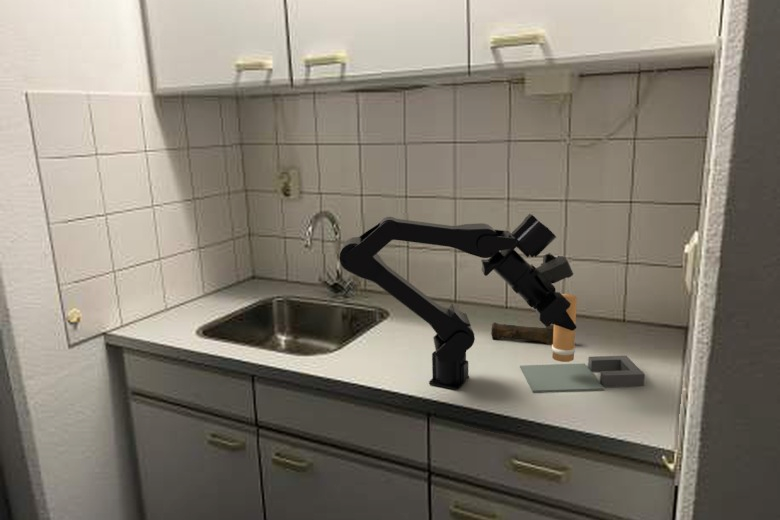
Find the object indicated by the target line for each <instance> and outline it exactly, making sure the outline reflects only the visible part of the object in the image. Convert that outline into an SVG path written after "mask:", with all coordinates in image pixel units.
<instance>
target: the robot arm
mask: <svg viewBox="0 0 780 520" xmlns="http://www.w3.org/2000/svg"><path fill="white" fill-rule="evenodd" d="M556 238H557V236H556V235H555V233H554V232H552V231H551V229H550V228H549V227H547V226H546V225H545V224H544V223H542V222H541V221H539V220H538V219H537V218H536V217H535V216H534V214H532V213H528V214H527V216H525V218H524V219H523V221H522V222H521V223H520V224H519V225H518V226H517V227H516V228H515V229H513V231H512V232H511V231H509V230H505V229H504V230H502V229H494V228H493V227H492V226H491V225H489V224H487V223H481V222H480V223H466V224H460V225H459V224H457V225H449V224H448V225H447V224H440V223H433V222H427V221H426V222H423V221H415V220H408V219H401V218H395V217H393V216H386V217H384V218H382V220H381V221H379V222H378V223H377V224H376V225H374V226H372V227H371V228H369V229H368V230H366V231H365V232H363V233H362V234H361V235H360V236H355V237H354V236H353V237H351V238H349V239H346V241H345V242H343V243H344V244H343V245H342V247H341V250H340V253H339V257H338V258H339V262H340V265H341V267H342V268H343V269H344V270H345V271H347V272H349V273H351V274H352V275H354V276H356V277H359V278H360V279H363V280H365V281H366V280H367V281H369V282H372V283H375V284H376V285H377V286H379V287H380V288H382V289H383V290H384V291H385V292H387V293H388V294H389V295H390V296H392V298H394V299H396V300H397V301H398V302H400V303H401V304H402V305H403V306H404V307H407V308H408V309H409V310H410V311H411V312H413V313H415V314H416V316H418V317H420V318H421V319H422V320H423V321H424V322H426V323H427V324H428V325H430V327H431V329H432V330H433V331H434V332H435V333H436V334H435V335H434V336H433V343H434V349H435V351H433V352H432V354H431V357H432V358H431V363H432V365H431V366H432V367H431V370H432V371H431V372H432V378H431V379H430V380H429V381H428V384H429V385H430V386H431V385H432V386H436V387H440V388H441V387H442V388H446V389H449V390H459V389H460V388H462V386H464V384H465V383H466V382H467V381H468V380H469V378H470V375H469V361H468V360H467V351H468V350H470V349H471V348H472V346H473V345H474V343H475V333H474V329H473V326H472V325H471V322H470V319H469V317H468V314H467V313H465V312H462V311H460V310H459V309H458V307H456V305H454V303H451V304H450V306H449V307H448V308H447V307H445V306H441V305H440V304H438V303H437V302H436V301H434V300H433V299H432V298H430V297H429V296H428V295H427V294H425V293H424V292H423V291H421V290H420V289H419V288H417V287H416V286H414V285H413V284H412V283H411V282H410V281H408V280H407V279H405V278H404V277H403V276H401V275H400V274H399V273H398V272H396V271H395V270H393V269H392V268H391V266H388V265H387V264H386V262H385V261H384V260H383V259H382V257H381V256H380V255H379V254H378V253H379V252H380V251H382V249H383V248H384V247H385V246H387V245H388V244H389V243H391V242H392V241H402V242H408V243H417V244H423V245H424V244H425V245H431V246H433V245H434V246H441V247H449V248H453V249H455V250H458V251H461V252H463V253H466V254H468V255H472V256H475V257H479V258H482V259H481V264H482V265H481V272H482V274H483V275H484V276H485V277H487V276H488V275H489V274H490V273H491V272H493V271H494V272H495V273H496V274H497V275H498V276H499V277H500V278H501V279H502V280H503V281H504V282H505V283H506V284H507V285H509V286H510V288H511V289H512V290H513V291H514V292H515V293H516V294H518V296H519V297H521V298H522V299H523V300H524V301H525V303H526V304H527V305H528V306H529V307H530V308H533V309H534V310H535V316H536V317H537V319H538V320H539V321H540V322H541V323H542V324H543V325H544V327H545V328H546V327H547V326H550V325H557V326H560V327H563V328H566V329H569V330H572V331H573V330H575V331H576V329H577V325H576V324H574V322H573V321H572V319H571V318H570V316H569V315H568V313H567V311H566V310H567V309H568V308H569V307H570V305H571V303H570V302H569V301H568V300H567V299H566V298H565V297H564V296H563V295H562V294H563V293H561V292H558V291H557V292H556V287H555V286H554V284H556V283H558V282H560V281H563V280H564V279H567V278H571V277H573V275H574V272H573V270H572V268H571V265H570V263H569V261H568V259H567V258H566V257H565V256H562V255H557V257H556V256H555V255H553V254H552V253H550V252H548V253H546V254H544V255H543V257H542V262H541V263H540V265H539V266H538V267H536V266H534V265H533V264H530V263H529V262H528V261H527V260H526V259H525V258H524V257H522V255H521V254H519V253H518V251H517V250H516V248H517V249H518V250H519V251H521V253H522V254H523V255H524V256H526V258H529V257H531V258H533V257H534V258H537V257H538V256H539V255H540V254H541V253H542V252H543V251H544V250H545V249H546V248H547V247H548V246H549V245H550V244H551V243H552V242H554V240H555V239H556Z"/></svg>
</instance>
